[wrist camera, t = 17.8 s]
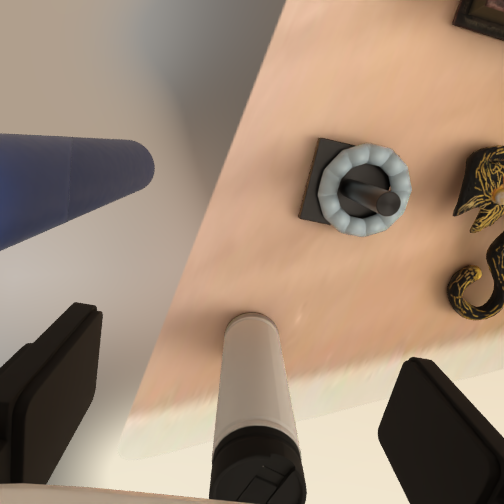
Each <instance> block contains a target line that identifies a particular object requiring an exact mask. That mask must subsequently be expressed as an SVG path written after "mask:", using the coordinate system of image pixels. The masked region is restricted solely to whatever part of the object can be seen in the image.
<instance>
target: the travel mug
mask: <svg viewBox="0 0 504 504" xmlns="http://www.w3.org/2000/svg"><path fill="white" fill-rule="evenodd" d="M306 494H307V492H306V483H305V478H304V472H303V467H302V463H301V451H300V447H299V441H298V435H297V430H296V424H295V419H294V414H293V408H292V403H291V397H290V392H289V387H288V381H287V376H286V371H285V365H284V360H283V354H282V349H281V344H280V339H279V333H278V329H277V327H276V325H275V324H274V322H273V321H272V320H271V319H269V318H268V317H267V316H264V315H262V314H259V313H245V314H242V315H239V316H237V317H235V318H234V319H233V320H232V321H231V322H230V323H229V324H228V326H227V328H226V330H225V335H224V345H223V355H222V364H221V374H220V384H219V394H218V404H217V414H216V423H215V433H214V443H213V453H212V472H211V482H210V492H209V499H213V500H223V501H233V502H243V503H253V504H305V501H306Z"/></svg>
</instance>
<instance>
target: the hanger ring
mask: <svg viewBox="0 0 504 504" xmlns="http://www.w3.org/2000/svg"><path fill="white" fill-rule="evenodd" d="M365 163H367V164H371V165H376V166H379V167H380V168H381V169H382V170H383V171H384V172H385V173H386V174H387V175H388V176H389V181H390V186H391V192H394V193H396V194H397V195H398V196H399V197H400V200H401V206H400V208H399V210H398V211H397V212H396V213H395V214H394V215H392V216H382V215H380V214H378V213H377V214H376V215H373V216H370V217H367V218H363V219H361V218H356V217H352V216H349V215H348V214H347V213H346V212H345V211H344V210H343V209H342V208H341V207H340V204H339V200H338V196H337V192H338V188H339V185H340V181H341V179H342V178H343V176H344V175H345V174H346V173H347V172H348V171H349V170H350V169H351V168H353V167H356V166H359V165H362V164H365ZM411 191H412V187H411V182H410V176H409V171H408V167H407V165H406V164H405V163H404V162H403V161H402V159H401V158H400V157H399V156H398V155H397V154H396V153H395V152H394V151H393V150H392V149H391V148H388V147H383V146H379V145H375V144H370V143H364V144H361V145H358V146H355V147H352V148H349V149H345V150H343V151H341V152H340V153H339V154H338V155H337V156H336V157H335V158H334V159H333V161H332V162H331V163H330V164H329V165H328V166H327V167H326V168H325V169H324V171H323V175H322V178H321V182H320V186H319V190H318V198H319V202H320V206H321V210H322V214H323V216H324V218H325V219H326V220H327V221H328V222H329V223H330V224H331V225H333V226H334V227H335V228H336V229H337V230H338V231H339V232H341V233H344V234H349V235H354V236H358V237H366V236H369V235H373V234H376V233H379V232H382V231H385V230H387V229H388V228H389V227H390V226H391V225H392V224H393V223H394V222H395V221H396V220H397V219H398V218H399V217H400V216H401V215H402V214H403V213H404V211H405V209H406V206H407V203H408V200H409V197H410V194H411Z"/></svg>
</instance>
